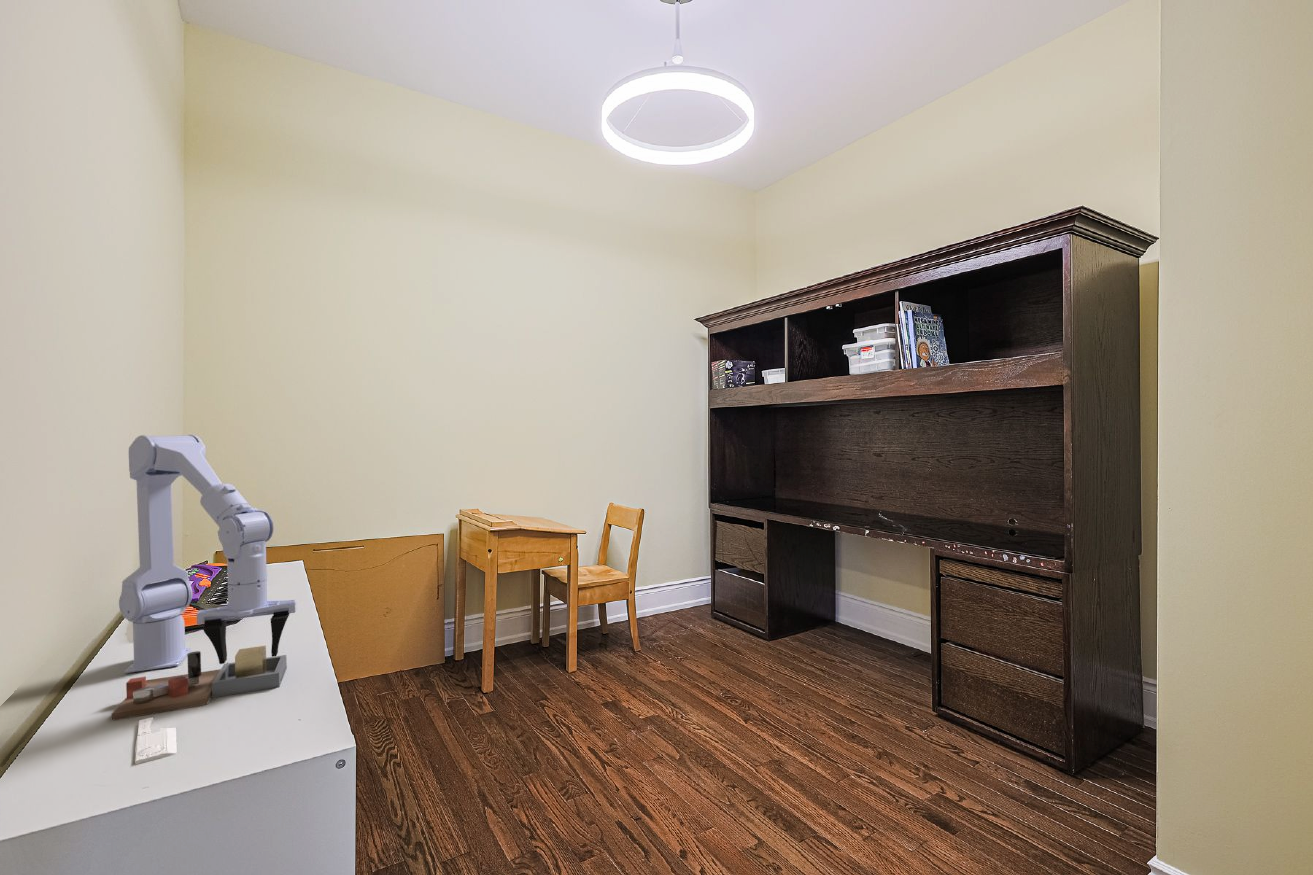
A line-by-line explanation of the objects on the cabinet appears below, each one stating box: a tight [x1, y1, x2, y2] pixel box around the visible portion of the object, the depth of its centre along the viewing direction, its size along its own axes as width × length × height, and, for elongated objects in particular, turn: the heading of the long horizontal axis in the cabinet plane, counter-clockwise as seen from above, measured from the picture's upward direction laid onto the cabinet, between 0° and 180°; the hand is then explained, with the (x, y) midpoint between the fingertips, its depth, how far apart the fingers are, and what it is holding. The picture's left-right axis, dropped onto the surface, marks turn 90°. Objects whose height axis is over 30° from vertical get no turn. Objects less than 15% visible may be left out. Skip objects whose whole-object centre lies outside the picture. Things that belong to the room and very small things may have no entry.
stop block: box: [234, 645, 267, 678], centre depth 109 cm, size 4×4×5 cm
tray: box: [211, 654, 288, 699], centre depth 109 cm, size 10×10×2 cm
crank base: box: [111, 668, 221, 721], centre depth 104 cm, size 14×12×4 cm
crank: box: [133, 650, 202, 703], centre depth 102 cm, size 9×3×5 cm, turn 147°
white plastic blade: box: [134, 717, 178, 766], centre depth 89 cm, size 5×15×1 cm, turn 38°
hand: (249, 658), depth 109 cm, fingers open, 7 cm apart
